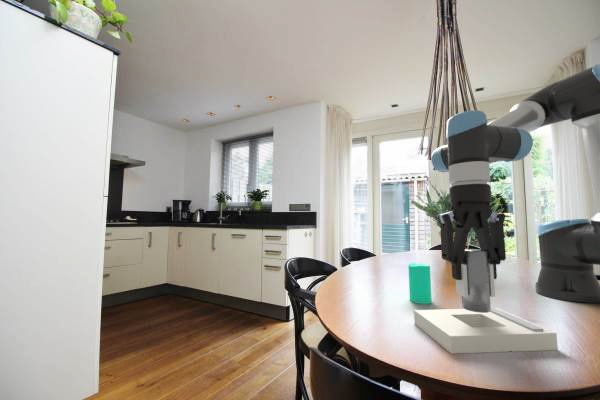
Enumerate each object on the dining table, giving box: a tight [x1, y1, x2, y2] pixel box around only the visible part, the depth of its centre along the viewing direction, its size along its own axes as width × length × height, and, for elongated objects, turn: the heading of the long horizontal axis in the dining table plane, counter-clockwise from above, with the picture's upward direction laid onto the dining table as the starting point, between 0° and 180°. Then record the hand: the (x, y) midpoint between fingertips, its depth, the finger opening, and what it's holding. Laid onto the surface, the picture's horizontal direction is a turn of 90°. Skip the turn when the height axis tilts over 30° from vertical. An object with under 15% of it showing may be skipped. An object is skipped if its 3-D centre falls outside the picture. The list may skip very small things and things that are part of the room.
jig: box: [413, 307, 559, 354], centre depth 56 cm, size 20×14×3 cm
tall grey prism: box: [461, 248, 492, 313], centre depth 56 cm, size 5×5×12 cm
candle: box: [408, 262, 433, 304], centre depth 80 cm, size 6×6×12 cm
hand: (475, 295), depth 56 cm, fingers closed on tall grey prism, 5 cm apart
